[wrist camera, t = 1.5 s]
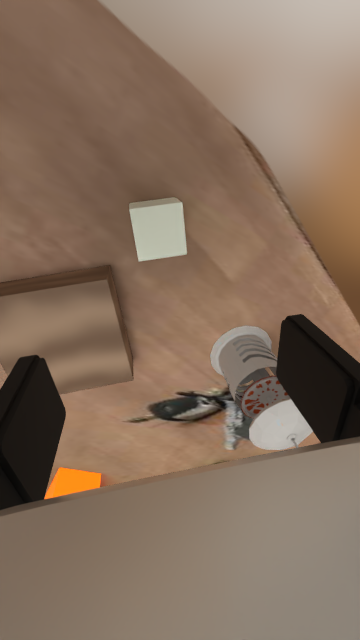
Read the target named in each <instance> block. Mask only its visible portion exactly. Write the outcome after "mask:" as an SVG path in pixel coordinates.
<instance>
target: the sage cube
mask: <svg viewBox="0 0 360 640" xmlns="http://www.w3.org/2000/svg"><path fill="white" fill-rule="evenodd" d="M129 211H130V216H131V222H132V227H133V233H134V238H135V244H136V249H137V255H138V260H139V261H146V260H152V259H159V258H166V257H172V256H179V255H186V254H187V248H186V237H185V226H184V216H183V205H182V202H181V201H180V200H178V199H177V198H175V197H172V198H164V199H157V200H149V201H141V202H134V203H129Z"/></svg>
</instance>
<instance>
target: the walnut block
mask: <svg viewBox="0 0 360 640" xmlns="http://www.w3.org/2000/svg"><path fill="white" fill-rule="evenodd" d="M31 355H38V356H39V357H40V358H44V359H45V361H46V363H47V366H48V368H49V371H50V373H51V375H52V378H53V380H54V383H55V385H56V388H57V390H58V393H59V394H65V393H70V392H75V391H80V390H85V389H91V388H96V387H101V386H106V385H111V384H116V383H122V382H127V381H132V380H133V357H132V353H131V349H130V344H129V340H128V336H127V332H126V328H125V324H124V320H123V316H122V312H121V308H120V304H119V300H118V296H117V292H116V288H115V284H114V280H113V276H112V272H111V268H110V265H109V266H103V267H96V268H90V269H84V270H77V271H71V272H65V273H58V274H52V275H46V276H40V277H33V278H27V279H21V280H14V281H8V282H2V283H0V363H1V365H2V367H3V368H4V370H5V372H6V374H7V376H9V374H10V372H11V371H12V369H13V367H14V366H15V364H16V362H17V360H18V359H19V358H20V357H24V356H31Z"/></svg>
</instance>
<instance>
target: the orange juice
mask: <svg viewBox="0 0 360 640" xmlns="http://www.w3.org/2000/svg"><path fill="white" fill-rule="evenodd" d="M100 479H101V474H99V473H92V472H86V471H79V470H73V469H66V468H59V470H58V472H57V474H56V476H55V478H54V480H53V482H52V484H51V486H50V488H49V490H48V492H47V494H46V496H45V499H48V498H53V497H57V496H62V495H66V494H71V493H75V492H80V491H85V490H90V489H95V488H100Z"/></svg>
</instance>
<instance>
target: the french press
mask: <svg viewBox="0 0 360 640" xmlns="http://www.w3.org/2000/svg"><path fill="white" fill-rule="evenodd" d="M275 357H276V356H275V355H274V353H273V352H271V340H270V338H269V336H268V334H267V333H266V332H265V331H263V330H262V329H260V328H259V327H254V326H242V327H237V328H233V329H231V330H230V331H228V332H227V333H225V334H223V335H222V336H221V337H220V338H219V339H218V340H217V342H216V343H215V344H214V346H213V349H212V352H211V354H210V358H211V365H212V366H213V368H214V369H215V370H216V372H217V373H219V374H221V375H223V376H224V378H226V379H225V380H227V381H226V382H227V385H228V387H229V386H230V387H229V388H230V392H231V394H232V396H233V398H234V400H235V402H236V404H237V405H238V406H239V408H241V410H242V411H243V413H244V414H245V415H246V416H248V417H250V418H253V421H252V423H251V425H250V429H249V434H250V440H251V441H252V442H253V444H254V445H255V446H257V447H260V448H262V449H270V450H283V449H286V448H290V447H293V446H295V447H296V448H299V447H298V444H299V443H300V442H302V441H303V440H304V439H305V438H306V437H307V436H308V435H310V434H311V433H312V432H313V430H312V429H311V427H310V426H309V424H308V423H307V422H306V420H305V419H304V417H303V416H302V414H301V413H300V411H299V410H298V409H297V407H296V406H295V404H294V403H293V401H292V400H291V398H290V397H289V395H288V394H287V393H286V391H285V390H284V388H283V387H282V385H281V384H280V382H279V381H278V379H277V376H276V367H277V357H276V358H275ZM265 367H269V368H270V369H271V371H272V372H273V373H274V375H275V376H269V374H268V373H267V371H266V370H265ZM252 379H253V381H254V382H253V383H252V384H250V385H248V386H245V387H239V386H238V384H240V385H242V384H245V383H248V382H250V381H251V380H252ZM228 382H229V383H228ZM236 389H239V390H246V391H245V392H244V393H242V392H238V391H236ZM235 392H236V393H237V394H239V395H242V396H243V397H242V398H240V397H239V396H238V395H236V394H235ZM235 396H236V397H238V398H239V399H240V400H241V402H240V401H239V400H238V399H237V398H235Z"/></svg>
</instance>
